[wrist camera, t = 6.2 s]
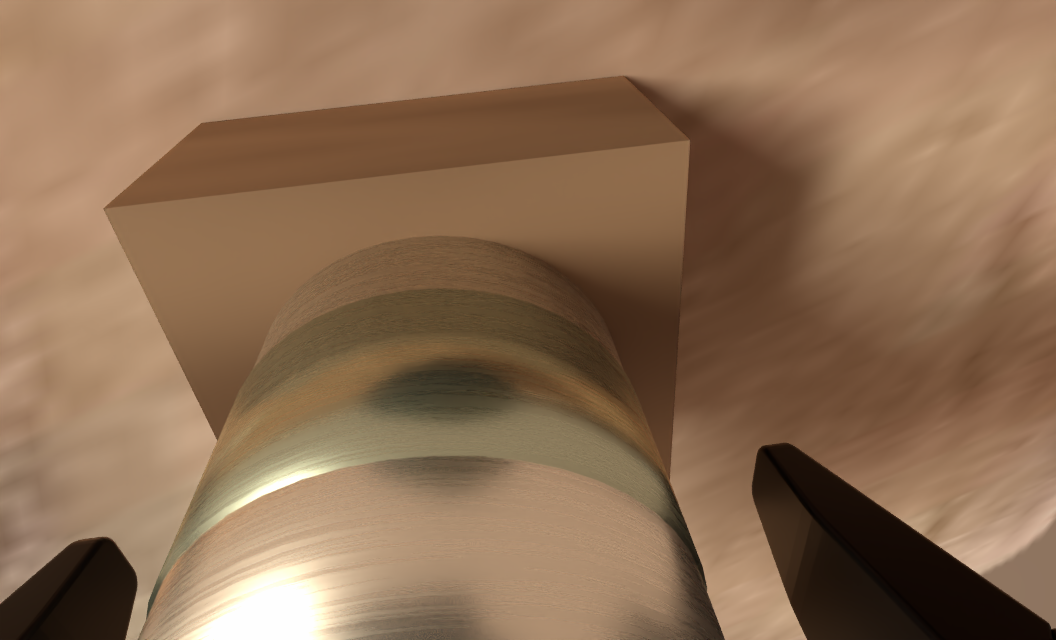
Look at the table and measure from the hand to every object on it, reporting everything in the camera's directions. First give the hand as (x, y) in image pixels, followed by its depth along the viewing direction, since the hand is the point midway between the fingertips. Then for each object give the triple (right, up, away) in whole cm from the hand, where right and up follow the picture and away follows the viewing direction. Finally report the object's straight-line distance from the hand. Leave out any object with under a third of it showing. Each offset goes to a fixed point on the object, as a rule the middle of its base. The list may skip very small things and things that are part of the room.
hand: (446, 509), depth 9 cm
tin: (0, +1, +2) cm, 2 cm away
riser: (-1, +4, +5) cm, 6 cm away
